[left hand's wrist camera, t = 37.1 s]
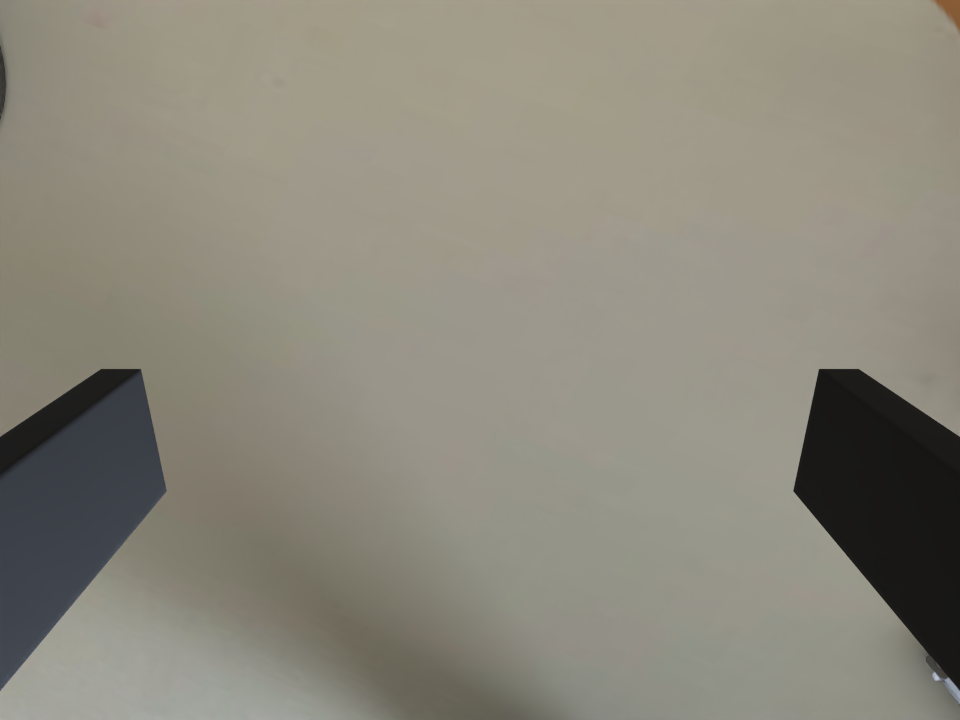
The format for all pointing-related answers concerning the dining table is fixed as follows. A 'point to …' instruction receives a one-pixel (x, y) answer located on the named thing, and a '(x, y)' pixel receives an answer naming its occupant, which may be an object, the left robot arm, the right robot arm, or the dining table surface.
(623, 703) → the dining table surface
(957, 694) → the pistol
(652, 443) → the dining table surface
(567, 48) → the dining table surface
